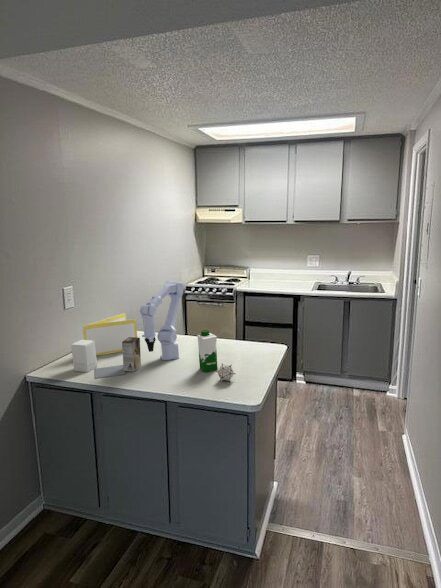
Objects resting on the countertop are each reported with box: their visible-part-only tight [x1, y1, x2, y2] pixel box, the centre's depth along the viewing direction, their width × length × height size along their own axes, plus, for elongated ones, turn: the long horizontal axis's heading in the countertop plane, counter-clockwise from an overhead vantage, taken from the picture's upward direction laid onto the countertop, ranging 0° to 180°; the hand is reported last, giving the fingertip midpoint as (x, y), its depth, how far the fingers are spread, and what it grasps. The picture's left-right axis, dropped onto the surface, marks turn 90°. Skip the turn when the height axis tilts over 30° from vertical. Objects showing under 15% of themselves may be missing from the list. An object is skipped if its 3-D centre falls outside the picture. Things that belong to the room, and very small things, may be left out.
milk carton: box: [197, 329, 219, 373], centre depth 215 cm, size 9×9×20 cm
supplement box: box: [70, 339, 98, 373], centre depth 224 cm, size 9×9×15 cm
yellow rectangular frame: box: [82, 312, 138, 357], centre depth 252 cm, size 35×22×20 cm, turn 150°
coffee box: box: [122, 336, 142, 372], centre depth 220 cm, size 9×6×16 cm
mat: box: [94, 364, 126, 380], centre depth 219 cm, size 15×14×1 cm
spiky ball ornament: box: [215, 363, 236, 383], centre depth 200 cm, size 9×8×10 cm
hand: (150, 351), depth 223 cm, fingers closed
